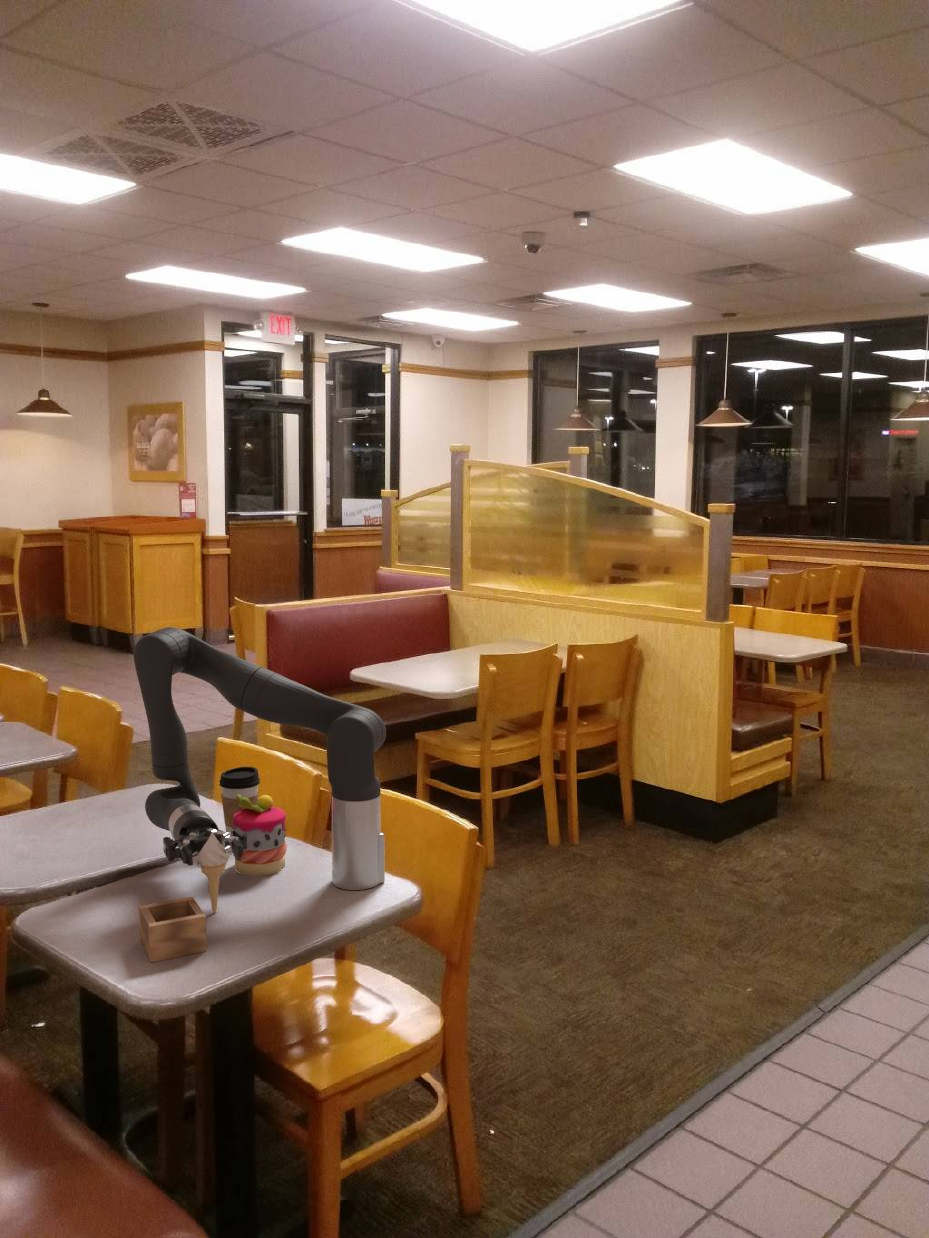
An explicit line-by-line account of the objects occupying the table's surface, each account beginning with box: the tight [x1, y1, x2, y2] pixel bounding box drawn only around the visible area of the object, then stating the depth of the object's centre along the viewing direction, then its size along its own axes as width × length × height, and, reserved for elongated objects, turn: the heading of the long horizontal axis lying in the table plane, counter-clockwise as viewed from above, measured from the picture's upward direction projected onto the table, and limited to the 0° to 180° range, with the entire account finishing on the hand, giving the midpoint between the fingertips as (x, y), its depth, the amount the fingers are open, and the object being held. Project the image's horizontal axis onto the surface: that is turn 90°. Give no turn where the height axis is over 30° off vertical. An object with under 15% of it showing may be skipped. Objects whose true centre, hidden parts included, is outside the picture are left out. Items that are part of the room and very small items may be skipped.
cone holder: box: [138, 896, 208, 963], centre depth 171 cm, size 9×9×6 cm
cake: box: [232, 794, 288, 877], centre depth 206 cm, size 10×11×15 cm
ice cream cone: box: [196, 832, 230, 914], centre depth 184 cm, size 6×6×15 cm
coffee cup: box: [218, 766, 261, 844], centre depth 221 cm, size 8×8×15 cm
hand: (215, 856), depth 182 cm, fingers open, 8 cm apart
